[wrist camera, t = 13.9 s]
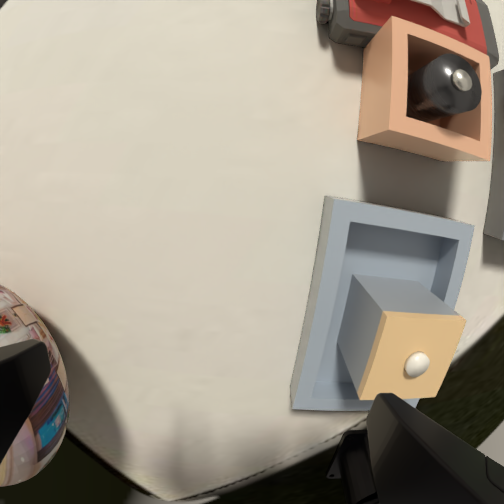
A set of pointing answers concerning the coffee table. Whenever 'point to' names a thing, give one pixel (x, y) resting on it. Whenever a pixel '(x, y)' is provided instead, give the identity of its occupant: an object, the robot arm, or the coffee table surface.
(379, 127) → the cup
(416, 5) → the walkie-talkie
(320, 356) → the tray
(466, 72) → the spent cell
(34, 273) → the coffee table surface
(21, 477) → the ornament
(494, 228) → the checker frame
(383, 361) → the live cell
